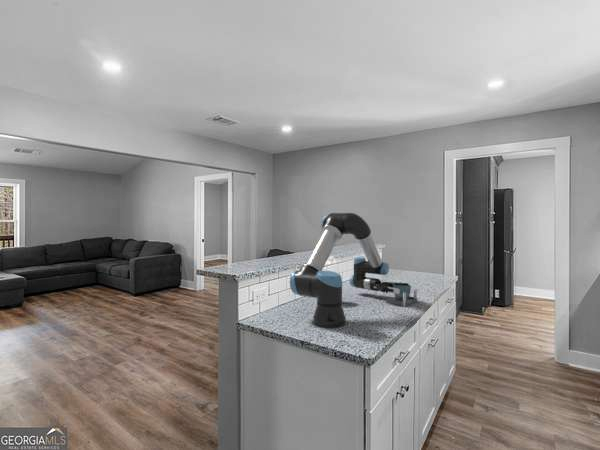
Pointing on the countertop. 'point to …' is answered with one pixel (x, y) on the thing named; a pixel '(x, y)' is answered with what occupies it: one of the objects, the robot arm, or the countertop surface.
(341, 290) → the robot arm
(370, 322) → the countertop surface
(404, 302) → the tray
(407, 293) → the flower pot
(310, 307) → the countertop surface
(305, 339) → the countertop surface
